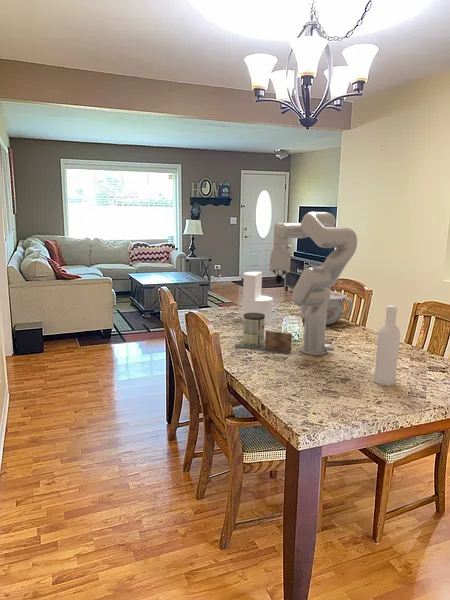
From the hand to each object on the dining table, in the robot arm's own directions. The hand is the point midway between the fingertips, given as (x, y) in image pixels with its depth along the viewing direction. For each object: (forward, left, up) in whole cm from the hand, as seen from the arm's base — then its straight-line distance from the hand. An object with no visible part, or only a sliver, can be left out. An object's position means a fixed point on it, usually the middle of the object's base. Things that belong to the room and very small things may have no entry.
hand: (279, 283), depth 229 cm
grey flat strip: (+1, +28, -27) cm, 39 cm away
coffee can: (+7, +20, -27) cm, 34 cm away
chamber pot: (-18, -35, -27) cm, 48 cm away
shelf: (-7, +28, -27) cm, 39 cm away
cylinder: (+17, -23, -27) cm, 40 cm away
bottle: (-53, +50, -27) cm, 78 cm away
